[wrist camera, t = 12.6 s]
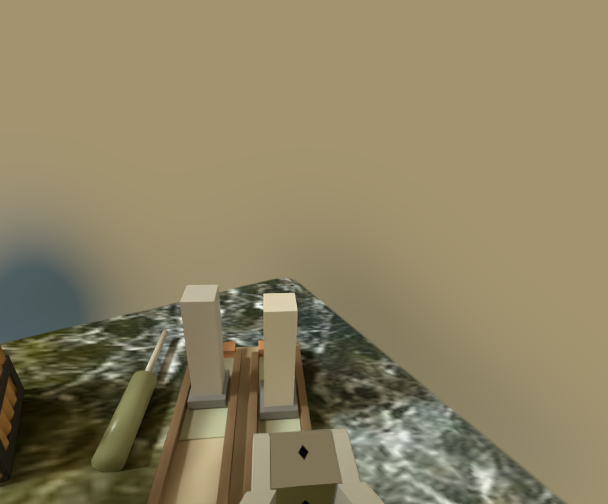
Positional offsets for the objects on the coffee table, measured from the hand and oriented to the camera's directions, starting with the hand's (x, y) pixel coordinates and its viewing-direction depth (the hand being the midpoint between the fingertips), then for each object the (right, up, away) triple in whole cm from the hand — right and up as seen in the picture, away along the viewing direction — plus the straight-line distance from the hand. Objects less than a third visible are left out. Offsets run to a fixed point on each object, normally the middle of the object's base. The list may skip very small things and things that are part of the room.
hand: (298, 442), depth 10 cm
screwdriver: (-17, -10, +24) cm, 31 cm away
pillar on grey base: (-10, -8, +23) cm, 26 cm away
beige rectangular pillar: (-2, -9, +22) cm, 24 cm away
